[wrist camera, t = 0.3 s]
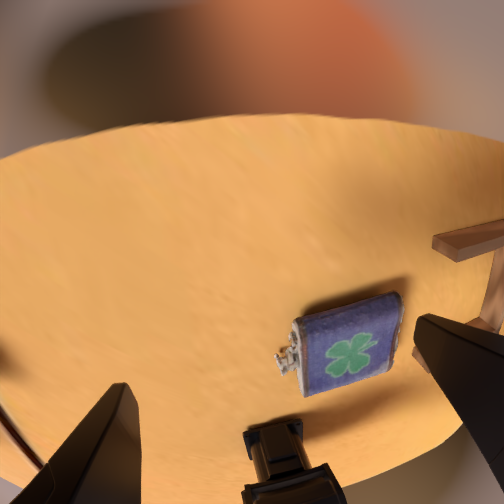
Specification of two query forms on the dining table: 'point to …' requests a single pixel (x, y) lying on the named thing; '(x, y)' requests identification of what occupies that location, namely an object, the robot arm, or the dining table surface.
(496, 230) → the walnut u-shaped fence
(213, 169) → the dining table surface
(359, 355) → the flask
